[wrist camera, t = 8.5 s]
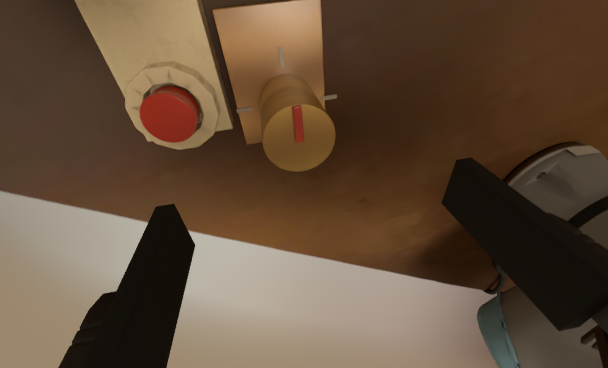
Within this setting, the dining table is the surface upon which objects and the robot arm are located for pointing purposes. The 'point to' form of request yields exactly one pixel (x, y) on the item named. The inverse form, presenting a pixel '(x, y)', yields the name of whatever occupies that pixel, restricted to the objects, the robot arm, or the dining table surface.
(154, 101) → the lamp switch
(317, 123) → the dimmer knob
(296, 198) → the dining table surface
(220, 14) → the dimmer console
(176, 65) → the lamp base
